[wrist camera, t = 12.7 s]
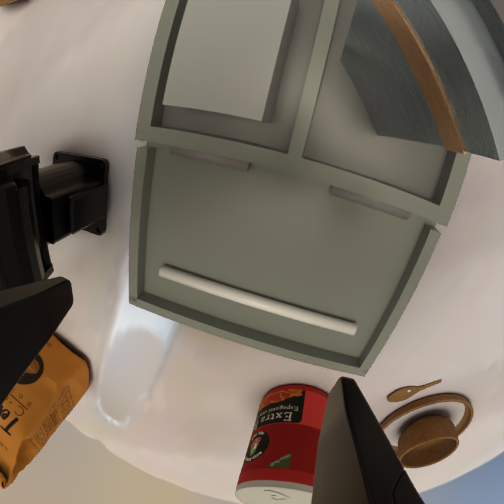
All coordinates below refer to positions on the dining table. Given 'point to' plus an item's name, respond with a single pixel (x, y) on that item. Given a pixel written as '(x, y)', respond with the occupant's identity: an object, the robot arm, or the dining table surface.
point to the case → (277, 186)
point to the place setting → (427, 428)
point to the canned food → (283, 447)
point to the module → (431, 71)
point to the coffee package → (39, 406)
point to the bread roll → (6, 2)
